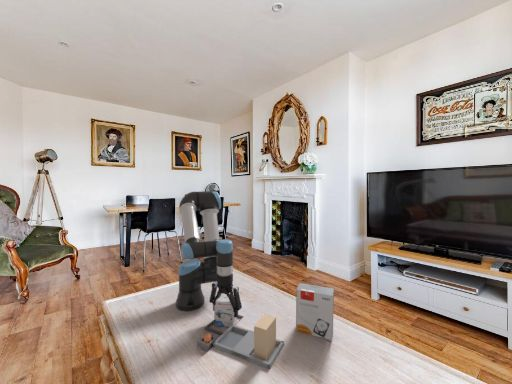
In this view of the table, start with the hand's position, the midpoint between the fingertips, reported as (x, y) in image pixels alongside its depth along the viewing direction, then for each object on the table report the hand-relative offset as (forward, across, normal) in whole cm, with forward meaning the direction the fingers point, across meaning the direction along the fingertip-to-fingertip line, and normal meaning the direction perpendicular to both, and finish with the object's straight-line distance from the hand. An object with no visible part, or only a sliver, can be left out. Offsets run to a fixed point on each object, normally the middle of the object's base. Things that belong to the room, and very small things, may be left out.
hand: (225, 320), depth 113 cm
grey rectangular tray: (+2, +18, -10) cm, 20 cm away
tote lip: (+2, 0, 0) cm, 2 cm away
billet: (+1, +26, -10) cm, 27 cm away
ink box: (+2, 0, 0) cm, 2 cm away
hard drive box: (+2, +39, +12) cm, 41 cm away
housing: (+2, +2, -16) cm, 16 cm away
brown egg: (+1, +2, -16) cm, 16 cm away
